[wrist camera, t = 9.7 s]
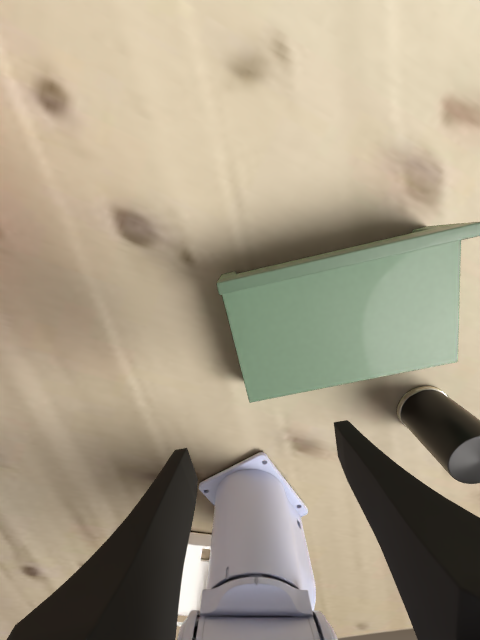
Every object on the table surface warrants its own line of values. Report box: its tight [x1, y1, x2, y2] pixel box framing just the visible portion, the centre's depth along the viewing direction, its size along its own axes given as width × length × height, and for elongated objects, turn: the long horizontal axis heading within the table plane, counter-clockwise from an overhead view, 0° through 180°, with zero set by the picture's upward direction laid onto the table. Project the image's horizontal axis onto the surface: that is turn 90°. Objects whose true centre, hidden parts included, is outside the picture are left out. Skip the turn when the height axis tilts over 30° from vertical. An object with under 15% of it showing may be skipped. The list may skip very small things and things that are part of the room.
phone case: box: [177, 532, 212, 626], centre depth 30 cm, size 7×1×15 cm
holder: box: [397, 386, 480, 484], centre depth 21 cm, size 5×5×6 cm
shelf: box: [216, 222, 480, 402], centre depth 19 cm, size 10×16×4 cm, turn 103°
